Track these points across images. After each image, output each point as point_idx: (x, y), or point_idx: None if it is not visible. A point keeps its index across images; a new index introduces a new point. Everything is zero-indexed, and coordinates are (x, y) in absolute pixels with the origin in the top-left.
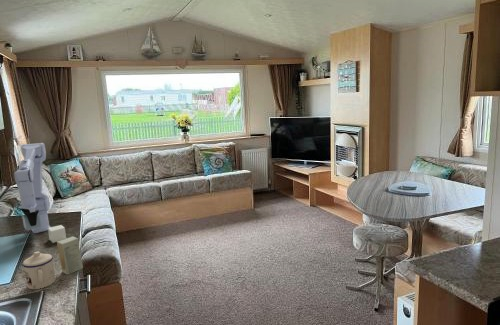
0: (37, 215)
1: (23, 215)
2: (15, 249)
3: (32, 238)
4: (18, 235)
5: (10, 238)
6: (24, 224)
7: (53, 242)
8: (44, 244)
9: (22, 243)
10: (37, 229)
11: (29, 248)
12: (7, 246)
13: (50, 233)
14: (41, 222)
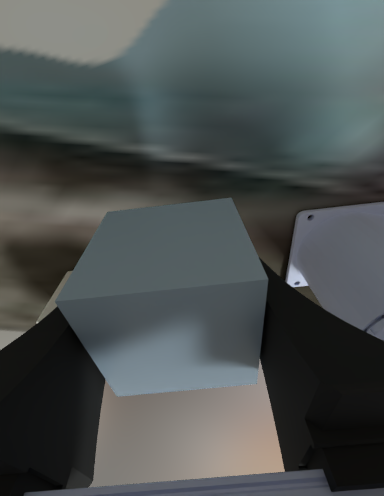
0: (119, 389)
1: (264, 293)
2: (47, 75)
3: (217, 196)
4: (372, 117)
5: (364, 47)
6: (170, 224)
7: (68, 274)
8: (63, 241)
9: (159, 133)
10: (314, 238)
11: (27, 168)
12: (163, 6)
13: None
14: (319, 287)
